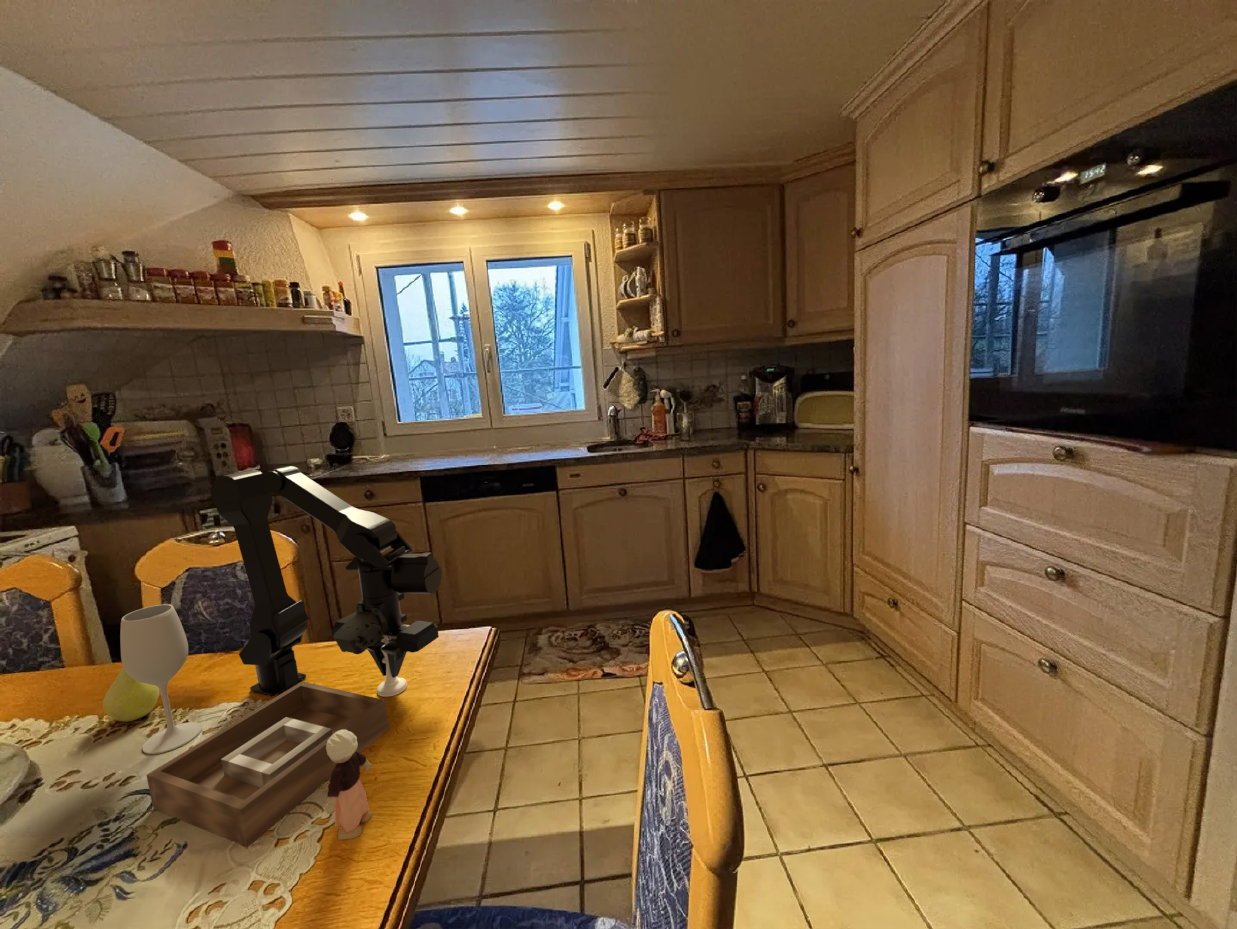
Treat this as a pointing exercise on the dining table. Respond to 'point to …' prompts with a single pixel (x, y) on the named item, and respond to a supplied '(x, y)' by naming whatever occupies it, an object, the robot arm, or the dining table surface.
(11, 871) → the dining table surface
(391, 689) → the chess piece
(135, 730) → the dining table surface
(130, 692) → the fruit
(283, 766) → the walnut box
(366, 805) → the grandmother figurine
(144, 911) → the dining table surface
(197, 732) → the wineglass
